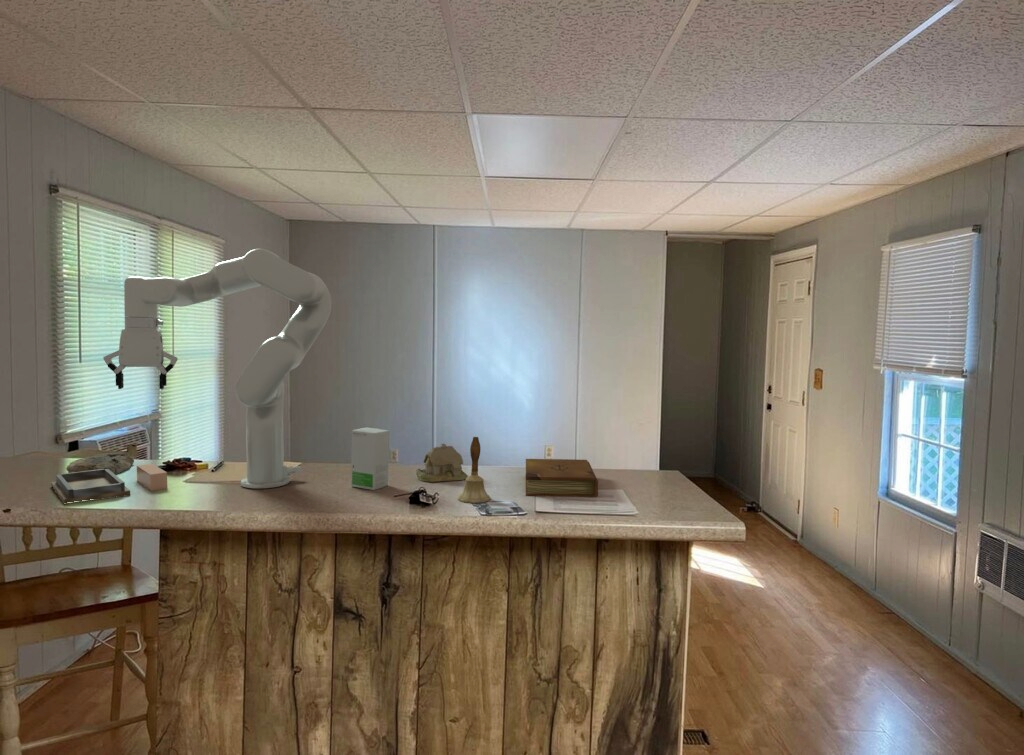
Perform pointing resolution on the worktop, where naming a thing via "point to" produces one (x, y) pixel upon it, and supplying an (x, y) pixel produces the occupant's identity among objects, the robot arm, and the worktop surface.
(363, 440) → the skincare box
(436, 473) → the ceramic model
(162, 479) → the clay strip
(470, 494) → the hand bell
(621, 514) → the worktop surface
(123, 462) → the clay tablet
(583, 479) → the diary
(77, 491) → the gray rectangular frame
